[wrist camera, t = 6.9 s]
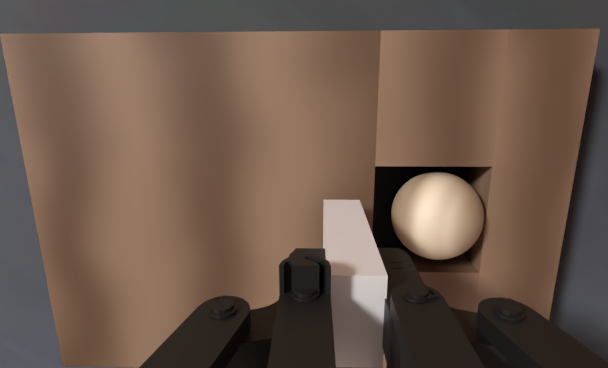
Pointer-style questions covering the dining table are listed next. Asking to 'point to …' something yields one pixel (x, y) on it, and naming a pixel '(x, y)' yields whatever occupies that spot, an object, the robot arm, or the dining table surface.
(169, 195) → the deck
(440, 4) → the dining table surface
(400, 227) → the ball
